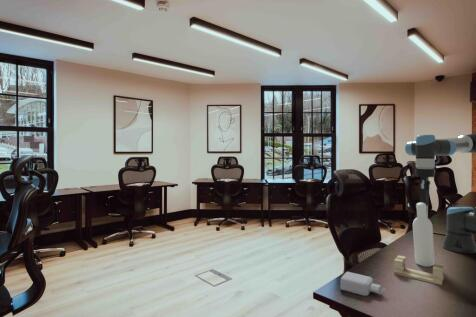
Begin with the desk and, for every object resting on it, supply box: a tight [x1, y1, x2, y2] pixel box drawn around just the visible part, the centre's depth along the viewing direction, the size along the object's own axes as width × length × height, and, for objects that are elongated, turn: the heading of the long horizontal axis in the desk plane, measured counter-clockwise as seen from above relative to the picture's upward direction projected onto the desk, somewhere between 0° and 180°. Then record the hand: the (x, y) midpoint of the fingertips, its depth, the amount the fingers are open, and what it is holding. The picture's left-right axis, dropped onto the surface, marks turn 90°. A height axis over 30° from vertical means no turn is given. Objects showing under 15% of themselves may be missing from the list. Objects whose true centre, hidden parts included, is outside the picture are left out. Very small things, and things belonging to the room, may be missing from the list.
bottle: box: [412, 201, 435, 268], centre depth 136 cm, size 8×8×30 cm
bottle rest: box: [393, 255, 445, 286], centre depth 126 cm, size 8×17×6 cm, turn 51°
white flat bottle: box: [339, 271, 387, 297], centre depth 112 cm, size 5×9×15 cm
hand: (424, 219), depth 137 cm, fingers closed
